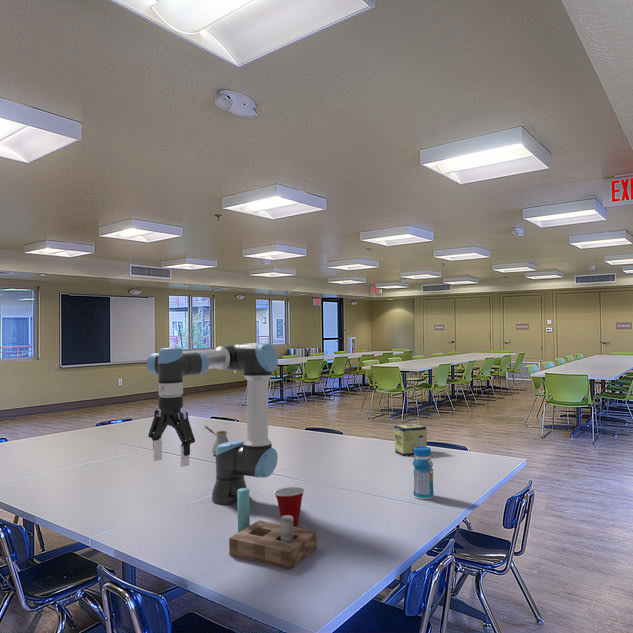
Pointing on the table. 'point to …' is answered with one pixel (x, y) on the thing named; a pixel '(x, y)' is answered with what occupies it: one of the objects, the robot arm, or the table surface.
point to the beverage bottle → (423, 473)
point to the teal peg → (243, 509)
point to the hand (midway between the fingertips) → (171, 463)
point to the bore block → (274, 543)
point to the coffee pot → (218, 439)
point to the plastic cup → (290, 502)
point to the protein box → (409, 438)
